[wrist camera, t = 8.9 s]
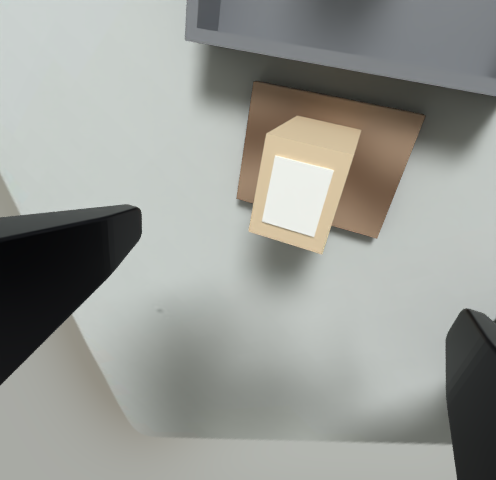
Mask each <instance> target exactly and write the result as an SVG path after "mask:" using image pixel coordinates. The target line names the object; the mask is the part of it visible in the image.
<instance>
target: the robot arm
mask: <svg viewBox="0 0 496 480" xmlns="http://www.w3.org/2000/svg"><path fill="white" fill-rule="evenodd" d="M141 234H142V214H141V210H140V209H139V208H138V207H135V206H132V205H128V204H125V205H115V206H106V207H96V208H87V209H77V210H68V211H58V212H48V213H39V214H29V215H20V216H10V217H1V218H0V385H1V384H2V383H3V382H4V381H5V380H6V379H7V378H8V377H9V376H10V375H11V374H12V373H13V372H14V371H15V370H16V369H17V368H18V367H19V366H20V365H21V364H22V363H23V362H24V361H25V360H26V359H27V358H28V357H29V356H30V355H31V354H32V353H33V352H34V351H35V350H36V349H37V348H38V347H39V346H40V345H41V344H42V343H43V342H44V341H45V340H46V339H47V338H48V337H49V336H50V335H51V334H52V333H53V332H54V331H55V330H56V329H57V328H58V327H59V326H60V325H61V324H62V323H63V322H64V321H65V320H66V319H67V318H68V317H69V316H70V315H71V314H72V313H73V312H74V311H75V310H76V309H77V308H78V307H79V306H80V305H81V304H82V303H83V302H84V301H85V300H86V299H87V298H88V297H89V296H90V295H91V294H92V293H93V292H94V291H95V290H96V289H97V288H98V287H99V286H100V285H101V284H102V283H103V282H104V281H105V280H106V279H107V278H108V277H109V276H110V275H111V274H112V273H113V272H114V271H115V269H116V268H117V267H118V266H119V264H120V263H121V262H122V261H123V260H124V258H125V257H126V256H127V255H128V253H129V252H130V251H131V250H132V248H133V247H134V246H135V245H136V243H137V242H138V241H139V239H140V237H141ZM446 400H447V408H448V416H449V423H450V430H451V438H452V445H453V451H454V460H455V467H456V474H457V480H496V323H495V322H493V321H492V320H491V319H490V318H489V317H487V316H486V315H485V314H483V313H481V312H478V311H474V310H471V309H467V308H466V309H463V310H462V311H461V312H460V313H459V315H458V317H457V318H456V320H455V322H454V323H453V325H452V327H451V328H450V330H449V332H448V334H447V337H446Z"/></svg>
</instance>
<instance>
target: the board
mask: <svg viewBox="0 0 496 480" xmlns="http://www.w3.org/2000/svg"><path fill="white" fill-rule="evenodd" d="M296 116H302V117H306V118H311V119H315V120H319V121H324V122H328V123H333V124H337V125H342V126H346V127H350V128H355V129H359V130H361V133H360V137H359V140H358V143H357V147H356V150H355V153H354V157H353V160H352V163H351V166H350V169H349V172H348V175H347V178H346V182H345V185H344V188H343V191H342V194H341V197H340V200H339V203H338V207H337V210H336V213H335V216H334V219H333V222H332V225H331V226H334V227H338V228H341V229H345V230H348V231H352V232H356V233H359V234H363V235H366V236H370V237H373V238H377V237H378V235H379V232H380V230H381V227H382V225H383V222H384V220H385V217H386V215H387V212H388V209H389V207H390V204H391V202H392V199H393V197H394V194H395V192H396V189H397V187H398V184H399V182H400V179H401V177H402V174H403V172H404V169H405V167H406V164H407V162H408V159H409V157H410V154H411V151H412V149H413V146H414V144H415V141H416V139H417V136H418V134H419V131H420V129H421V126H422V124H423V121H424V119H425V115H424V114H421V113H416V112H411V111H406V110H401V109H396V108H391V107H386V106H381V105H376V104H371V103H366V102H361V101H355V100H350V99H345V98H340V97H335V96H330V95H325V94H320V93H315V92H310V91H305V90H300V89H295V88H290V87H285V86H280V85H275V84H270V83H265V82H260V81H254V82H253V88H252V95H251V102H250V109H249V116H248V123H247V130H246V137H245V144H244V150H243V157H242V164H241V171H240V178H239V185H238V192H237V199H239V200H243V201H246V202H250V203H253V204H254V198H255V193H256V187H257V182H258V176H259V171H260V165H261V160H262V154H263V149H264V143H265V138H266V133H268V132H270V131H272V130H273V129H275V128H277V127H278V126H280V125H282V124H284V123H285V122H287V121H289V120H291V119H292V118H294V117H296Z"/></svg>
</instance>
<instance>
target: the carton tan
mask: <svg viewBox="0 0 496 480" xmlns="http://www.w3.org/2000/svg"><path fill="white" fill-rule="evenodd" d="M360 133H361V130H359V129H355V128H350V127H346V126H342V125H337V124H333V123H328V122H324V121H319V120H315V119H311V118H306V117H302V116H296V117H294V118H292V119H291V120H289V121H287V122H285V123H284V124H282V125H280V126H278V127H277V128H275V129H273V130H272V131H270V132H268V133H266V138H265V143H264V149H263V154H262V160H261V165H260V171H259V176H258V182H257V187H256V193H255V198H254V204H253V209H252V215H251V220H250V226H249V232H252V233H255V234H258V235H261V236H265V237H268V238H271V239H274V240H277V241H281V242H284V243H287V244H290V245H294V246H297V247H300V248H303V249H306V250H310V251H313V252H316V253H319V254H322V253H323V250H324V247H325V244H326V241H327V238H328V235H329V231H330V228H331V225H332V222H333V219H334V216H335V213H336V210H337V207H338V203H339V200H340V197H341V194H342V191H343V188H344V185H345V182H346V178H347V175H348V172H349V169H350V166H351V163H352V160H353V157H354V153H355V150H356V147H357V143H358V140H359V137H360Z"/></svg>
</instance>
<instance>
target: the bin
mask: <svg viewBox="0 0 496 480" xmlns="http://www.w3.org/2000/svg"><path fill="white" fill-rule="evenodd" d="M185 40H186V41H191V42H197V43H202V44H208V45H213V46H219V47H225V48H230V49H236V50H241V51H247V52H252V53H258V54H263V55H269V56H275V57H280V58H286V59H291V60H297V61H302V62H308V63H313V64H319V65H324V66H330V67H336V68H341V69H347V70H352V71H358V72H363V73H369V74H374V75H380V76H385V77H391V78H397V79H402V80H408V81H413V82H419V83H424V84H430V85H435V86H441V87H447V88H452V89H458V90H463V91H469V92H474V93H480V94H485V95H491V96H496V0H187V8H186V28H185Z"/></svg>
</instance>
